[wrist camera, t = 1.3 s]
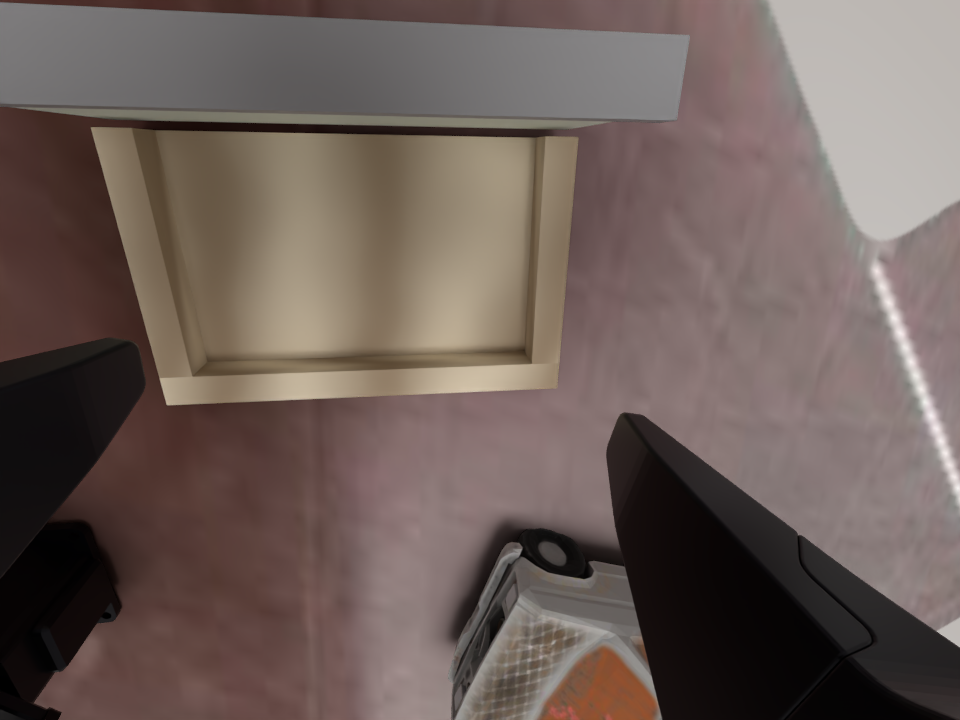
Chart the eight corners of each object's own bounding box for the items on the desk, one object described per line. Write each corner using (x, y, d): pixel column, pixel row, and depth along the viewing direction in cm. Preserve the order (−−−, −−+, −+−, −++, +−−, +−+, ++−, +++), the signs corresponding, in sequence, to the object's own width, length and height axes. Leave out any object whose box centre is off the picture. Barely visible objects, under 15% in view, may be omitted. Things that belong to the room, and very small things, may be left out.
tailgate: (116, 126, 17) (-149, 99, 9) (103, 72, 16) (-196, -8, 8) (566, 135, 18) (676, 120, 11) (570, 87, 18) (689, 35, 10)
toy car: (498, 514, 27) (540, 692, 18) (821, 587, 34) (973, 749, 24) (437, 641, 31) (446, 845, 22) (739, 687, 37) (846, 860, 28)
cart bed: (198, 374, 22) (166, 405, 19) (140, 131, 18) (90, 126, 15) (540, 361, 24) (557, 388, 21) (556, 139, 20) (578, 136, 17)
